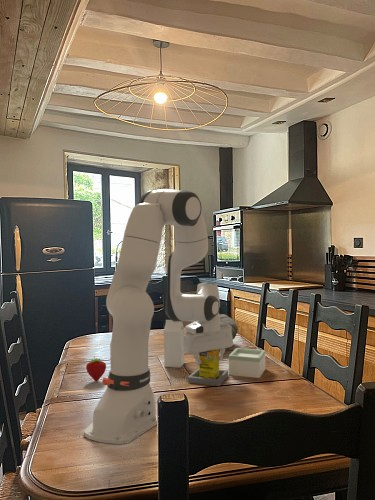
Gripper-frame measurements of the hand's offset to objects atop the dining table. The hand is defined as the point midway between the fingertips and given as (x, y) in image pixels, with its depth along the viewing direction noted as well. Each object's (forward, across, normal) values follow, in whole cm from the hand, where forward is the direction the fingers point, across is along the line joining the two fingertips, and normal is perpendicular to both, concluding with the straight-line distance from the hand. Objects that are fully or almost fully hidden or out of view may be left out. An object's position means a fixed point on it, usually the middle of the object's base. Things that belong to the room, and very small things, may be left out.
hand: (209, 361), depth 151 cm
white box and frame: (+6, -8, 0) cm, 11 cm away
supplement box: (+7, 0, 0) cm, 7 cm away
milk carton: (+7, +3, -23) cm, 24 cm away
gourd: (+7, -27, -40) cm, 48 cm away
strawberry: (+6, +38, -20) cm, 43 cm away
